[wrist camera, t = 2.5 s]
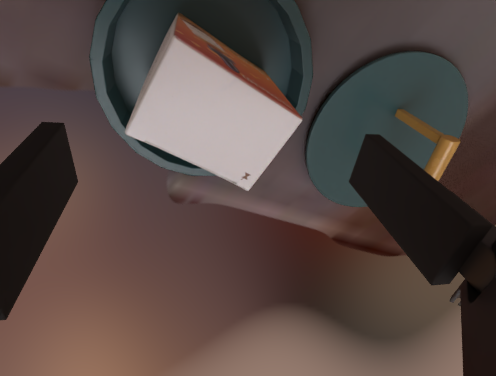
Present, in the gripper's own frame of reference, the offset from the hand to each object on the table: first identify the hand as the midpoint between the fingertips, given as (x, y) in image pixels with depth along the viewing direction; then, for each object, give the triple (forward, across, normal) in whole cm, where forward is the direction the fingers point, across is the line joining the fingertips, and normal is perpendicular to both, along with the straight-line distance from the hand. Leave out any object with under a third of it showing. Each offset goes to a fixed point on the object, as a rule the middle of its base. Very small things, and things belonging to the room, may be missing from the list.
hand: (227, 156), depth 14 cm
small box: (+14, 0, 0) cm, 14 cm away
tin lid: (+13, +18, -5) cm, 23 cm away
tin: (+14, 0, 0) cm, 14 cm away
